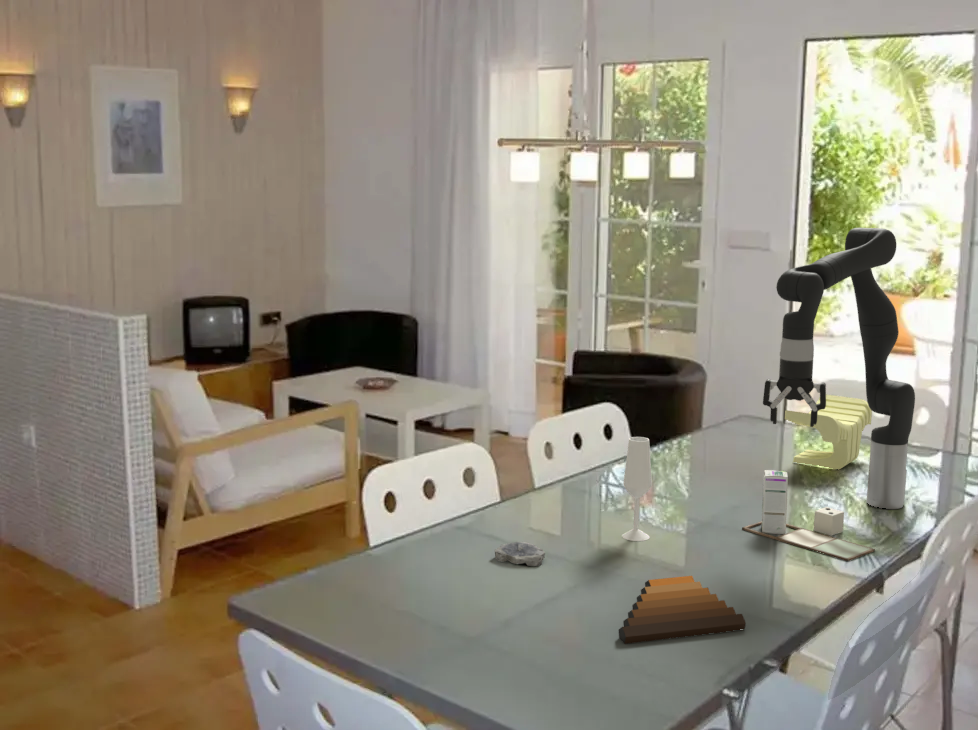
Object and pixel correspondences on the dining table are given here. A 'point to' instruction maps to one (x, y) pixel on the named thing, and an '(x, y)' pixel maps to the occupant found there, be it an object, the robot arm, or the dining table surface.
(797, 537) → the board
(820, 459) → the slatted curved stool
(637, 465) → the champagne flute
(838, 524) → the die
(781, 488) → the syrup box
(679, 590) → the pan flute
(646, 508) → the dining table surface
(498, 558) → the grey stone dish
